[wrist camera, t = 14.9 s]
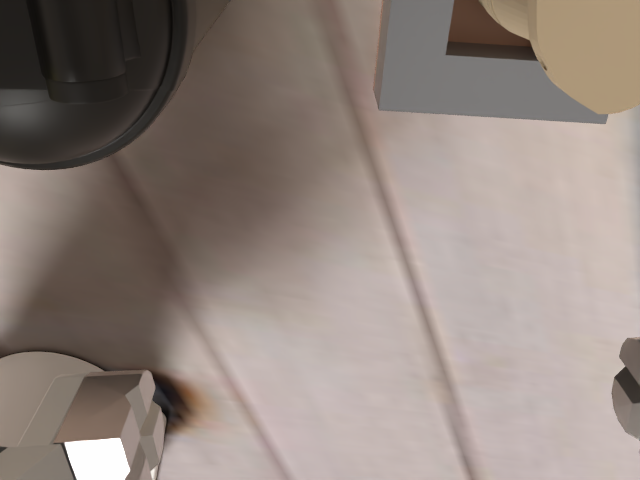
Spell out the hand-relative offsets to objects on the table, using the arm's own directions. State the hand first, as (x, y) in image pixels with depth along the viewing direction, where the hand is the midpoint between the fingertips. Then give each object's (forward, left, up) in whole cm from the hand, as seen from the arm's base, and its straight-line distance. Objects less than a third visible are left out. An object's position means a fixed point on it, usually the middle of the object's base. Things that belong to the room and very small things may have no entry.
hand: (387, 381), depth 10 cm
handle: (+4, -9, -29) cm, 31 cm away
